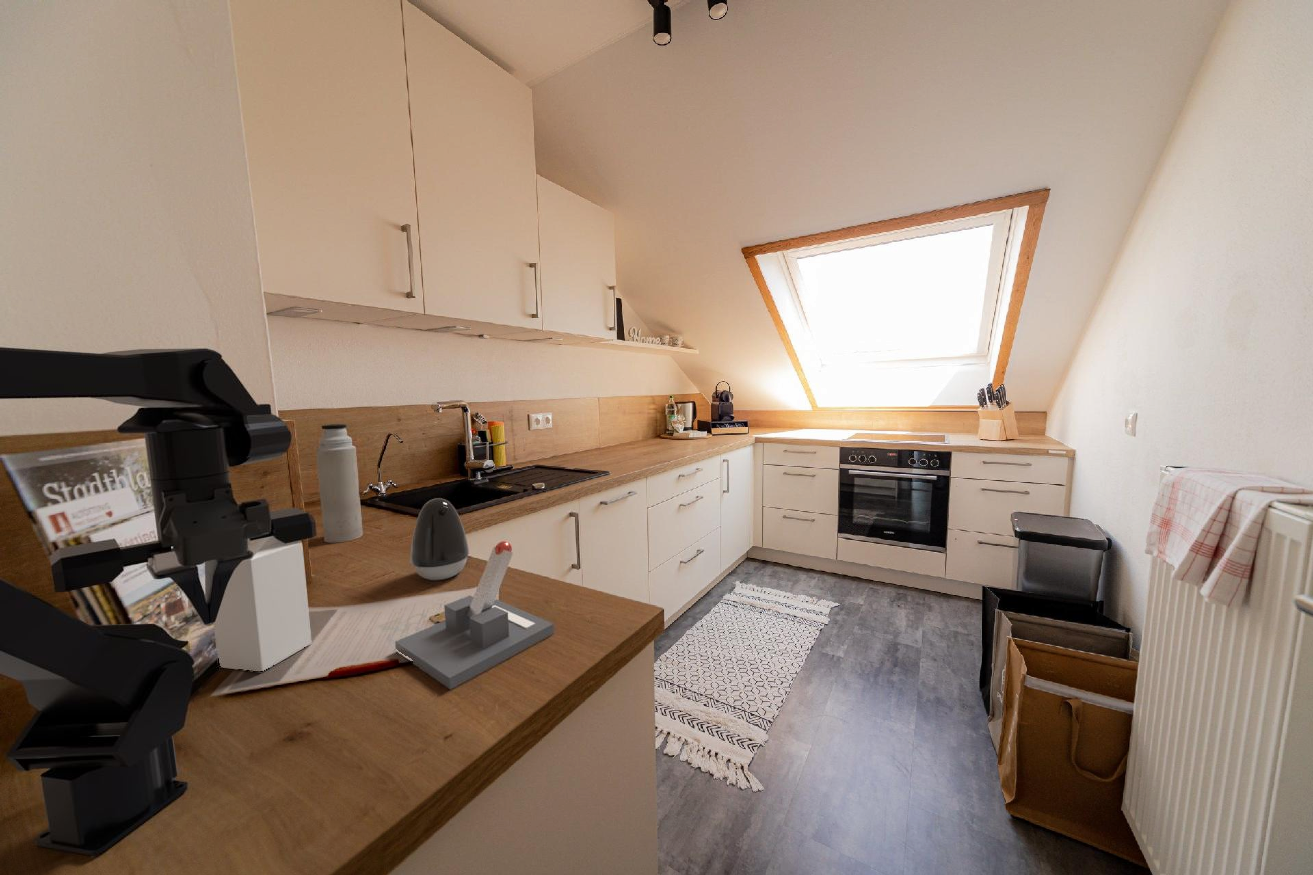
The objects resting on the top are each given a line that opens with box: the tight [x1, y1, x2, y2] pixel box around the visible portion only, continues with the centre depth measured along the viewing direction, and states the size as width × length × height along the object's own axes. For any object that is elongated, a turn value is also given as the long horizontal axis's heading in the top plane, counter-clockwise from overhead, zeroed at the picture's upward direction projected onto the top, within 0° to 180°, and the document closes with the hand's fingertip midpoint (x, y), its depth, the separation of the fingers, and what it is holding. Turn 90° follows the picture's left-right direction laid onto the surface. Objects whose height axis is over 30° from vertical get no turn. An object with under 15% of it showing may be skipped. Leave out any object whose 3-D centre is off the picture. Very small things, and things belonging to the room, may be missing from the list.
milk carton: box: [212, 536, 313, 672], centre depth 64 cm, size 7×7×19 cm
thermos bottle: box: [315, 423, 364, 544], centre depth 115 cm, size 8×8×28 cm
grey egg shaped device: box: [410, 497, 470, 581], centre depth 91 cm, size 10×10×15 cm
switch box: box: [394, 595, 555, 691], centre depth 67 cm, size 16×14×5 cm
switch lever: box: [466, 541, 514, 617], centre depth 69 cm, size 2×3×11 cm
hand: (209, 622), depth 49 cm, fingers closed
